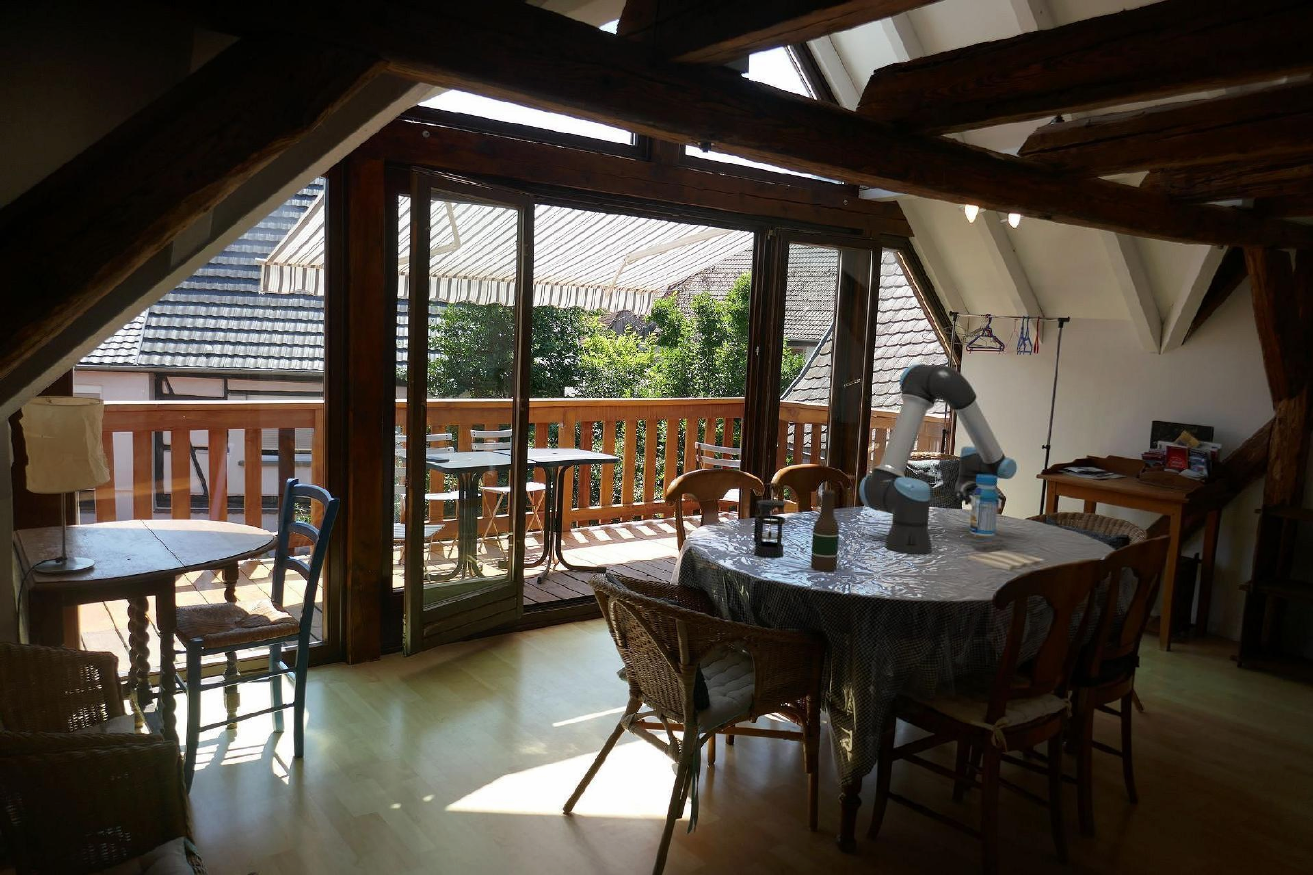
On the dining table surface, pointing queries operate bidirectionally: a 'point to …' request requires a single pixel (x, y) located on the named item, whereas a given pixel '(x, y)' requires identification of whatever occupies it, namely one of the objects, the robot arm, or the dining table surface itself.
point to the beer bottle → (825, 536)
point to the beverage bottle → (984, 506)
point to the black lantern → (766, 547)
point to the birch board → (1005, 559)
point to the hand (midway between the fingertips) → (987, 503)
